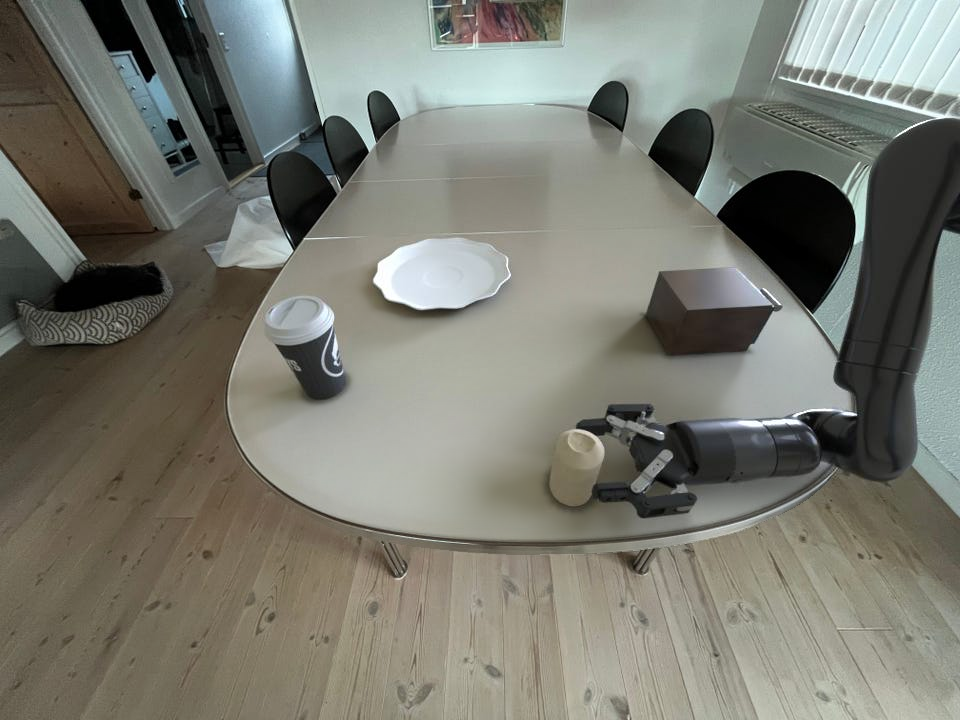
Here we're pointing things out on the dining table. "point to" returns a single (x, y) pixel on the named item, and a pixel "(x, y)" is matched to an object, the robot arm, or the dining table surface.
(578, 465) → the candle
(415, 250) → the plate
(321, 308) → the coffee cup
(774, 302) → the drawer
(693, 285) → the cabinet
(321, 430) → the dining table surface
